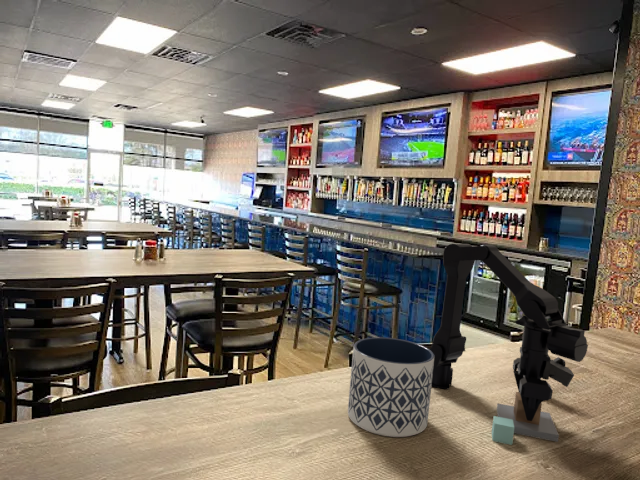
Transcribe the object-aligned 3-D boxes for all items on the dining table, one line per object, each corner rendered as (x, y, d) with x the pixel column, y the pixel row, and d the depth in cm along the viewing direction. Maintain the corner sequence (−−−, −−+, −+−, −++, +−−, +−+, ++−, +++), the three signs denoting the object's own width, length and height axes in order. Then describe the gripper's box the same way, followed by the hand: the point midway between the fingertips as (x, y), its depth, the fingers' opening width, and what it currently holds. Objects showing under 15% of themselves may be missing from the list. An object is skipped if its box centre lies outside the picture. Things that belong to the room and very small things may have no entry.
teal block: (492, 441, 104) (494, 423, 104) (491, 432, 108) (493, 415, 108) (512, 445, 103) (514, 427, 103) (510, 436, 107) (512, 419, 107)
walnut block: (515, 420, 112) (518, 399, 111) (513, 411, 117) (515, 391, 116) (539, 424, 110) (541, 404, 110) (535, 415, 115) (538, 395, 115)
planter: (376, 445, 98) (383, 367, 97) (333, 407, 114) (338, 340, 113) (444, 431, 107) (452, 359, 105) (395, 397, 123) (401, 335, 121)
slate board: (500, 430, 109) (501, 423, 109) (496, 409, 121) (497, 403, 121) (557, 441, 106) (558, 435, 106) (548, 418, 118) (549, 412, 117)
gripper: (583, 366, 101) (573, 438, 102) (564, 342, 118) (556, 403, 120) (525, 357, 104) (517, 426, 105) (516, 335, 122) (509, 394, 123)
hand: (526, 412), depth 113 cm, fingers open, 9 cm apart
